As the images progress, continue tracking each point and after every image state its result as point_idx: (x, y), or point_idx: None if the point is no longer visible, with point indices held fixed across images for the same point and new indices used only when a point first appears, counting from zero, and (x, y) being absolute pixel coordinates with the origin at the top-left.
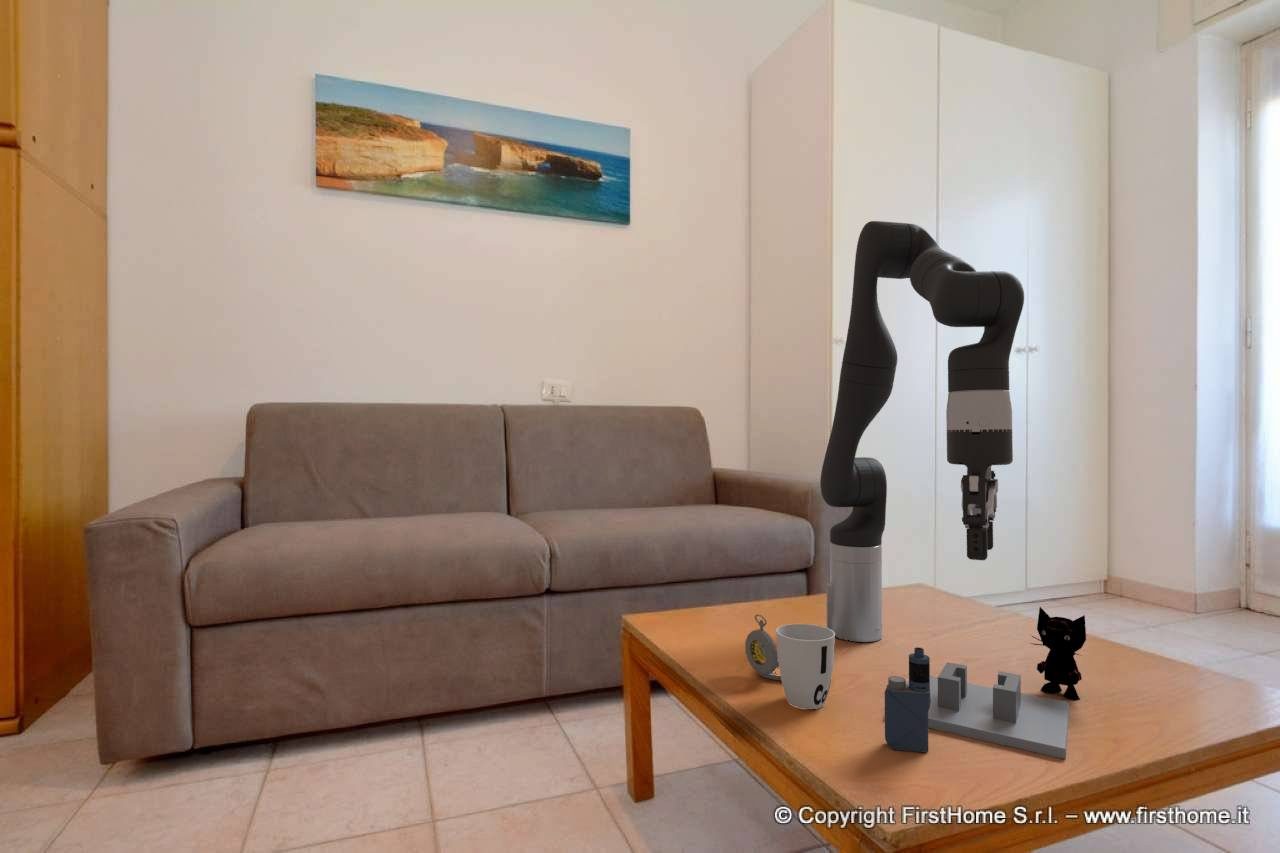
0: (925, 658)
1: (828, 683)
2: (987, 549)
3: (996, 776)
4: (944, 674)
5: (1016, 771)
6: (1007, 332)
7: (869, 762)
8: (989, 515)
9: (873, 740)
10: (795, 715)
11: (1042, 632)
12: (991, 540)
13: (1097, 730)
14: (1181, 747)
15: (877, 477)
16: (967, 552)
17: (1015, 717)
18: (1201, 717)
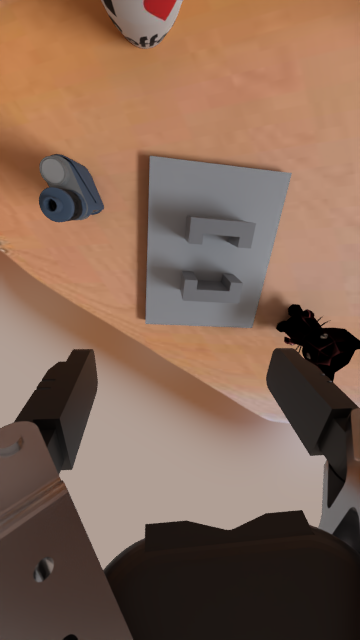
0: (52, 216)
1: (133, 36)
2: (267, 372)
3: (80, 274)
4: (205, 224)
5: (100, 288)
6: None
7: (22, 155)
8: (328, 476)
9: (79, 150)
10: (86, 3)
11: (326, 335)
12: (277, 399)
13: (215, 340)
14: (208, 381)
15: None
16: (68, 357)
17: (180, 291)
18: (269, 395)
